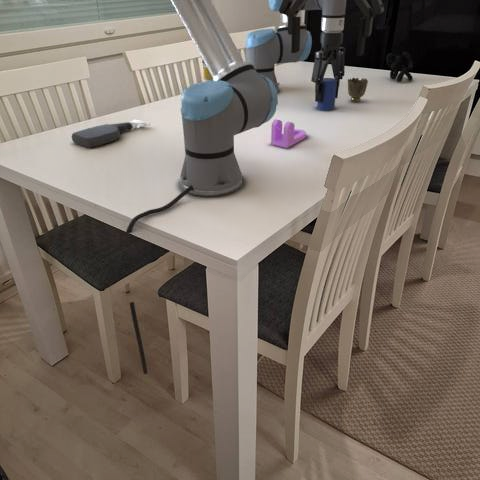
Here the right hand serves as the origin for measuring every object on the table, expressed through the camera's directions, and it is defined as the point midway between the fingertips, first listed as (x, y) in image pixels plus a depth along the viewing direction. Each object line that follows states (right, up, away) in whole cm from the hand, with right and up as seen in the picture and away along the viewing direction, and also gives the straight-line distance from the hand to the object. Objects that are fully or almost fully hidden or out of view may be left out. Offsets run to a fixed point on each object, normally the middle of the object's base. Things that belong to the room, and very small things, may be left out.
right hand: (326, 99), depth 163 cm
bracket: (-16, -21, -27) cm, 38 cm away
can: (0, -3, +2) cm, 3 cm away
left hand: (-14, -14, -72) cm, 75 cm away
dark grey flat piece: (-72, -18, -20) cm, 77 cm away
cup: (+13, +2, +9) cm, 16 cm away
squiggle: (+40, +20, +38) cm, 59 cm away
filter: (-43, +5, +16) cm, 46 cm away
